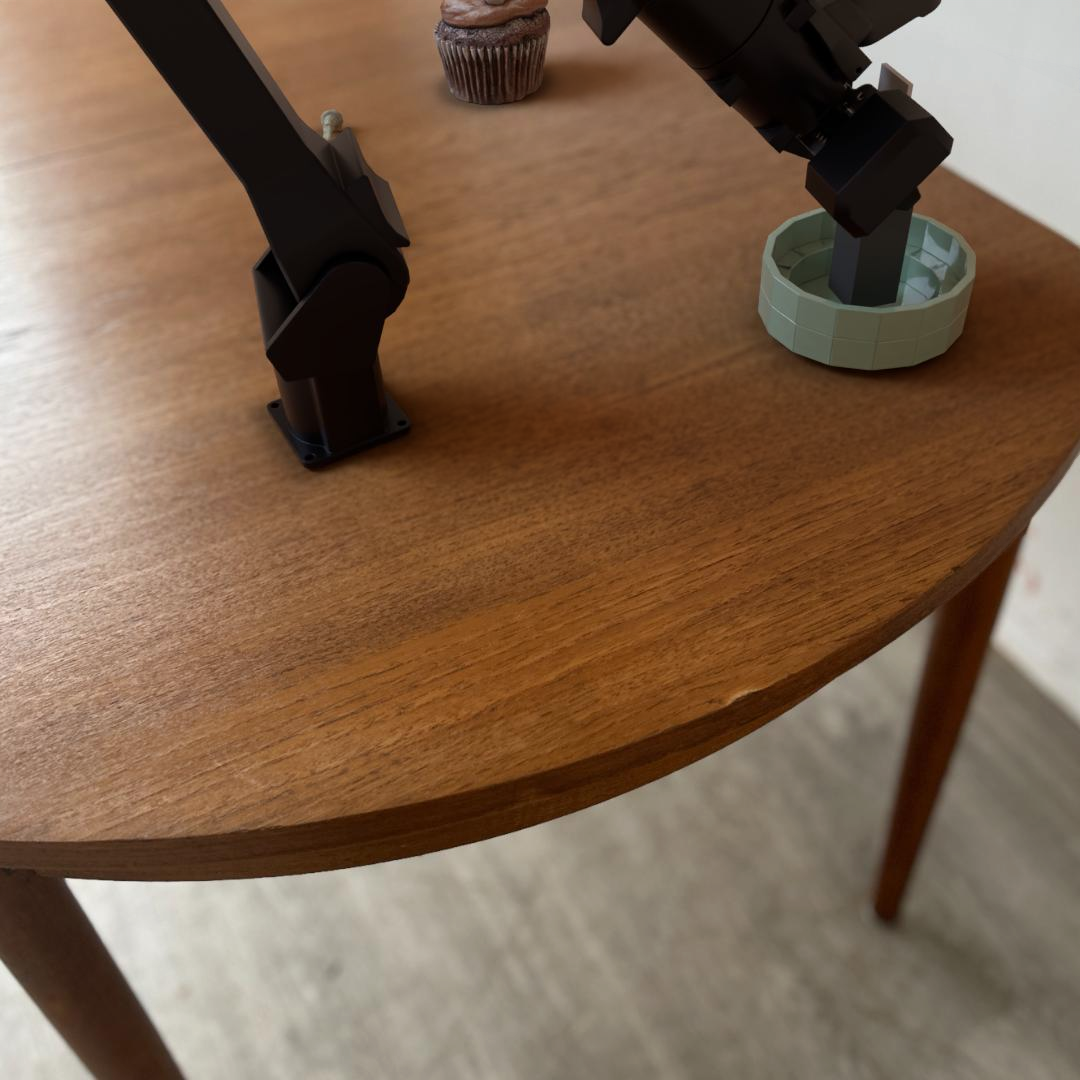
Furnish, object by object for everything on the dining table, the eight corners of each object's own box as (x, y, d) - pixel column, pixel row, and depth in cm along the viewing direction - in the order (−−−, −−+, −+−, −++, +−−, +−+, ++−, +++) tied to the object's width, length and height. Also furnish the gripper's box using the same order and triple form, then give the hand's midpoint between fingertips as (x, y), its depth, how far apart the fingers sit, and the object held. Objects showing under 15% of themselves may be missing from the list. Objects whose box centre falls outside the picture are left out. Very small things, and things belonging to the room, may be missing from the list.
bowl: (1003, 335, 71) (1021, 269, 68) (844, 402, 67) (855, 335, 64) (869, 249, 79) (879, 186, 76) (720, 305, 75) (724, 240, 72)
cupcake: (485, 53, 106) (475, -68, 99) (575, 75, 101) (571, -50, 94) (415, 93, 100) (400, -32, 93) (507, 118, 96) (498, -11, 89)
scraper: (849, 312, 70) (884, 89, 61) (827, 286, 72) (857, 66, 63) (896, 302, 71) (937, 80, 62) (872, 277, 73) (909, 58, 64)
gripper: (953, -67, 48) (1117, 148, 58) (772, -175, 61) (930, 14, 71) (755, 148, 53) (938, 316, 62) (626, 4, 66) (793, 160, 75)
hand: (899, 189), depth 67 cm, fingers closed on scraper, 3 cm apart
